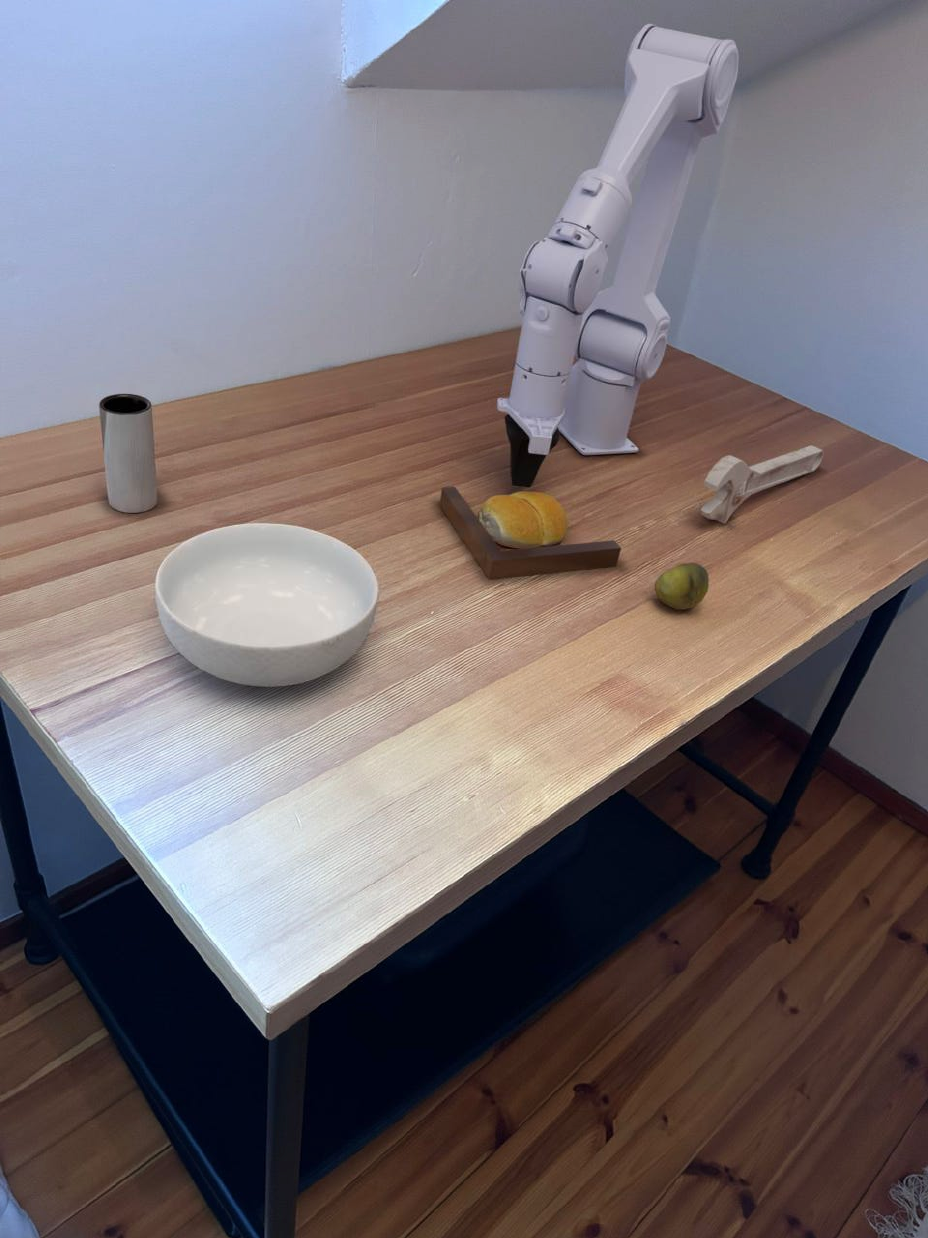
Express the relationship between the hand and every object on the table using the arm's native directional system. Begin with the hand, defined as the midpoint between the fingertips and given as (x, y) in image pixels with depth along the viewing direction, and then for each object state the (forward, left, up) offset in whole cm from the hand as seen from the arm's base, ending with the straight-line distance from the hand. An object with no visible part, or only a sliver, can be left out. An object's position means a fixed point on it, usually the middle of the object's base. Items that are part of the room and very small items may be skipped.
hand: (520, 483), depth 103 cm
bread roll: (+7, -3, -2) cm, 8 cm away
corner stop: (+8, -3, -1) cm, 9 cm away
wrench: (+5, +29, -2) cm, 30 cm away
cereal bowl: (+21, -32, -2) cm, 39 cm away
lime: (+22, +7, -2) cm, 23 cm away
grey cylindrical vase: (-4, -40, -2) cm, 40 cm away
